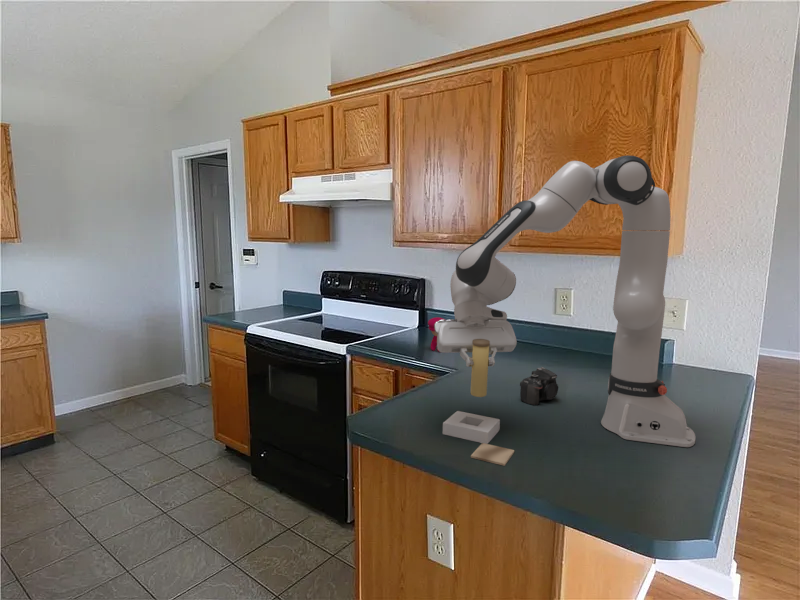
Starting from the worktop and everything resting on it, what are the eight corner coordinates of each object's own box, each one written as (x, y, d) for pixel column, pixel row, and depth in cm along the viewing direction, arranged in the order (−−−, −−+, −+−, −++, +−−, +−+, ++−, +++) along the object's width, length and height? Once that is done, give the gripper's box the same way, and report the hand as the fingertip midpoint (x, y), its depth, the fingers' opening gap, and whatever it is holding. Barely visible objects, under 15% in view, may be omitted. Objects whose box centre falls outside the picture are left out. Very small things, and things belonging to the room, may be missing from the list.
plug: (489, 393, 123) (492, 340, 121) (482, 398, 120) (485, 344, 117) (474, 389, 126) (476, 337, 123) (467, 394, 122) (469, 341, 120)
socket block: (499, 430, 129) (499, 419, 128) (487, 444, 120) (487, 432, 120) (457, 421, 134) (457, 410, 134) (442, 433, 126) (442, 422, 125)
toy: (449, 350, 216) (450, 317, 213) (440, 354, 209) (441, 320, 207) (432, 348, 220) (433, 315, 218) (423, 351, 213) (424, 317, 211)
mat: (514, 452, 116) (514, 450, 116) (504, 465, 109) (504, 463, 109) (482, 444, 120) (482, 442, 120) (470, 457, 113) (470, 455, 113)
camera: (548, 409, 145) (550, 376, 144) (516, 402, 151) (518, 371, 150) (561, 397, 156) (563, 367, 155) (531, 391, 162) (533, 362, 161)
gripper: (435, 312, 125) (441, 359, 117) (512, 312, 128) (523, 358, 119) (431, 326, 130) (437, 372, 122) (506, 325, 132) (516, 370, 124)
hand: (480, 365), depth 121 cm, fingers closed on plug, 4 cm apart
